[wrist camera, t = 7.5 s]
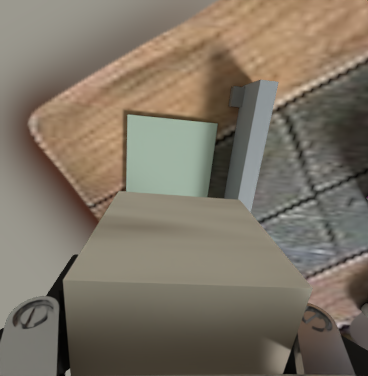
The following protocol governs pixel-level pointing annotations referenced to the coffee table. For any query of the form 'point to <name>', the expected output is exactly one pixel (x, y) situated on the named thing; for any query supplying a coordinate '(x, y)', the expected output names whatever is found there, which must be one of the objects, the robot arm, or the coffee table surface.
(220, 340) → the beige cube
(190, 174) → the mat
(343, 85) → the coffee table surface
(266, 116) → the screen
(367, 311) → the round bodied animal figurine
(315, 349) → the robot arm
